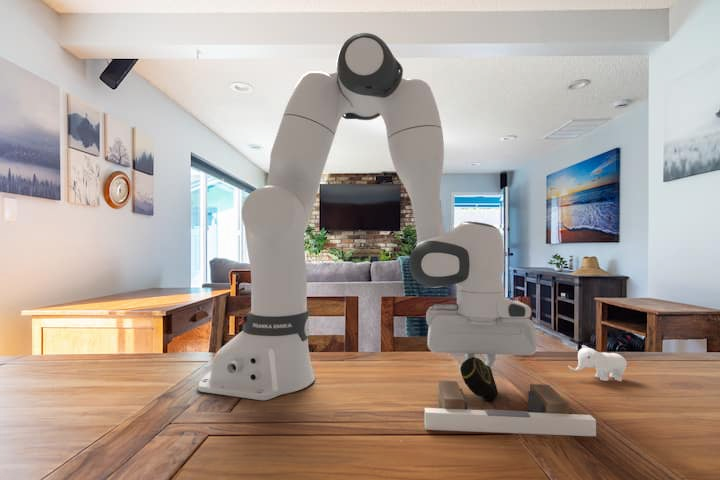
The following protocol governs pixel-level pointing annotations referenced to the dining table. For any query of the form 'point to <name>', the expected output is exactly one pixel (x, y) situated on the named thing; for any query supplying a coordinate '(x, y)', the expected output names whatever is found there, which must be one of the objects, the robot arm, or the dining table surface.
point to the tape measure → (479, 378)
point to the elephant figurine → (601, 363)
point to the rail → (508, 414)
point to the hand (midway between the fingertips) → (480, 375)
